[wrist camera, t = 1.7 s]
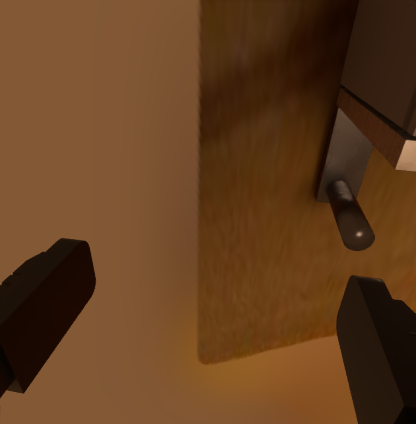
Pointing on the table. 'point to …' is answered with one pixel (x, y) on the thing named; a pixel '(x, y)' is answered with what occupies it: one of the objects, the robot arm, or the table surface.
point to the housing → (384, 59)
